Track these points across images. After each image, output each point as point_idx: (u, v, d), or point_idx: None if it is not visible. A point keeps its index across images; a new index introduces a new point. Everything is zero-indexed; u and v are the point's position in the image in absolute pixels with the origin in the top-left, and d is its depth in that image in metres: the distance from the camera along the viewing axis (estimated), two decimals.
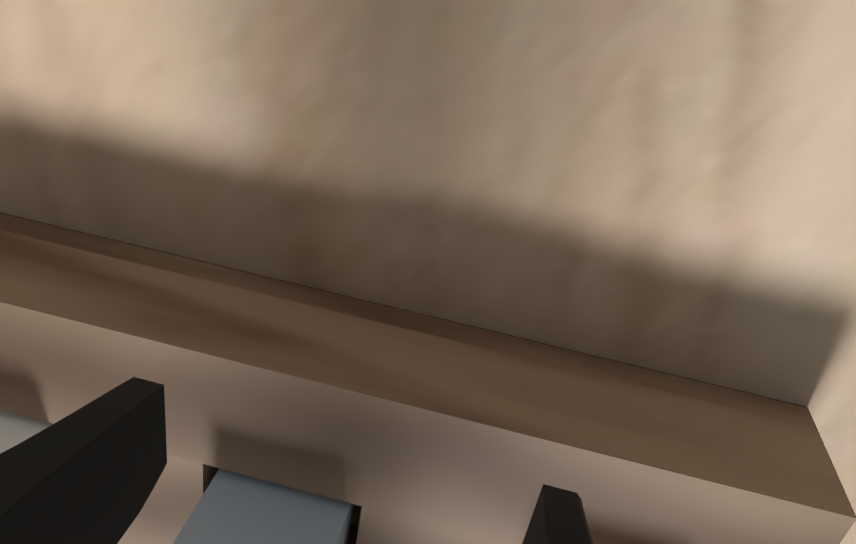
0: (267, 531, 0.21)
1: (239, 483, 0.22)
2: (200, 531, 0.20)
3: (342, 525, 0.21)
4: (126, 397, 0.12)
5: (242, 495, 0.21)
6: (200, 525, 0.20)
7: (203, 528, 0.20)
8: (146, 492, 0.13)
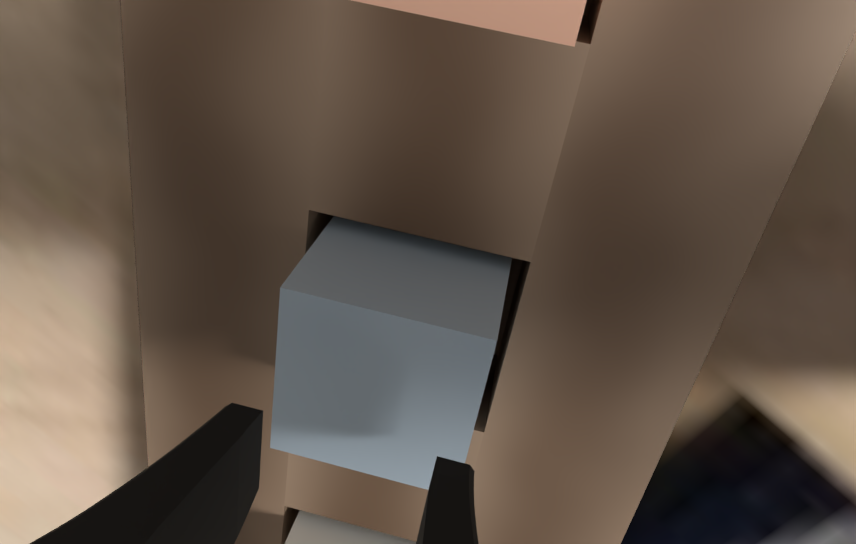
0: None
1: None
2: None
3: (318, 239, 0.16)
4: (231, 425, 0.12)
5: None
6: None
7: None
8: (243, 518, 0.13)
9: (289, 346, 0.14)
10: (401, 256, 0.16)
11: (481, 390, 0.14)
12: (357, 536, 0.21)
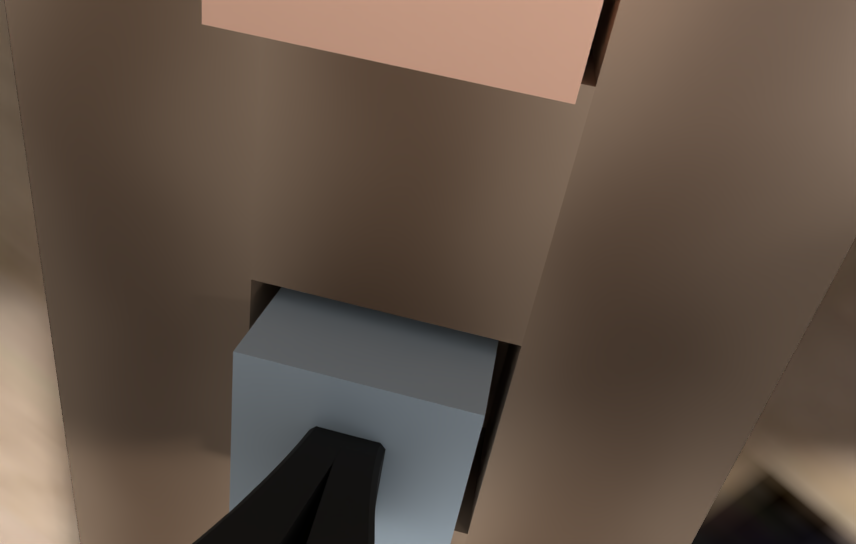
0: None
1: None
2: None
3: (283, 288, 0.14)
4: (322, 449, 0.12)
5: None
6: None
7: None
8: None
9: (246, 416, 0.13)
10: None
11: (467, 469, 0.12)
12: None
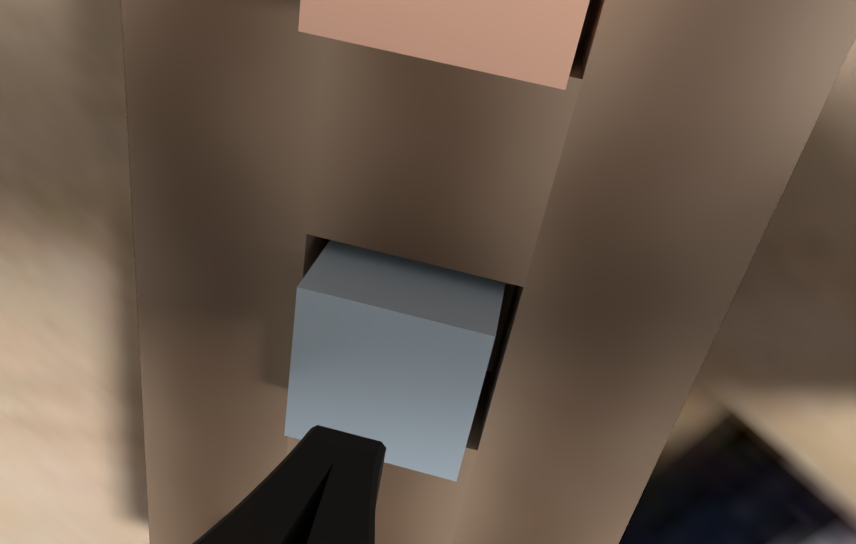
0: None
1: None
2: None
3: (330, 243, 0.17)
4: (322, 449, 0.12)
5: None
6: None
7: None
8: None
9: (304, 341, 0.16)
10: None
11: (480, 382, 0.15)
12: None
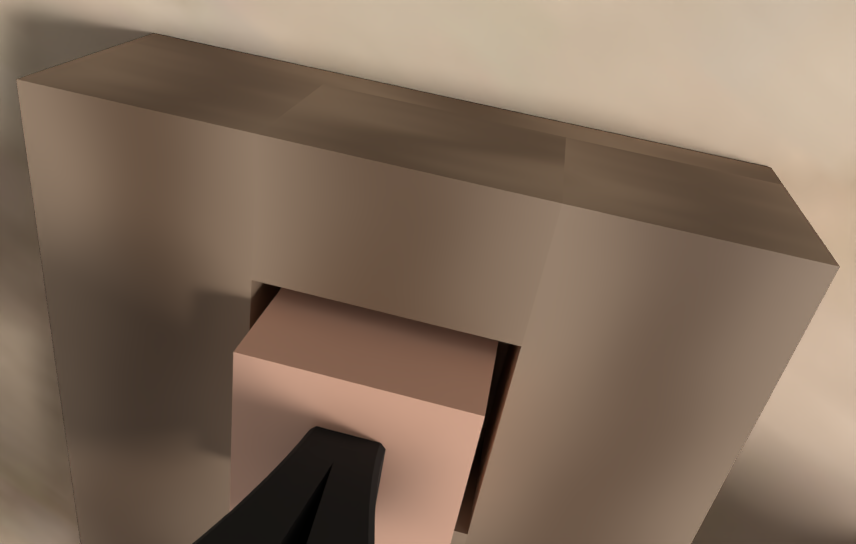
0: None
1: None
2: None
3: None
4: (322, 449, 0.12)
5: None
6: None
7: None
8: None
9: None
10: None
11: None
12: None
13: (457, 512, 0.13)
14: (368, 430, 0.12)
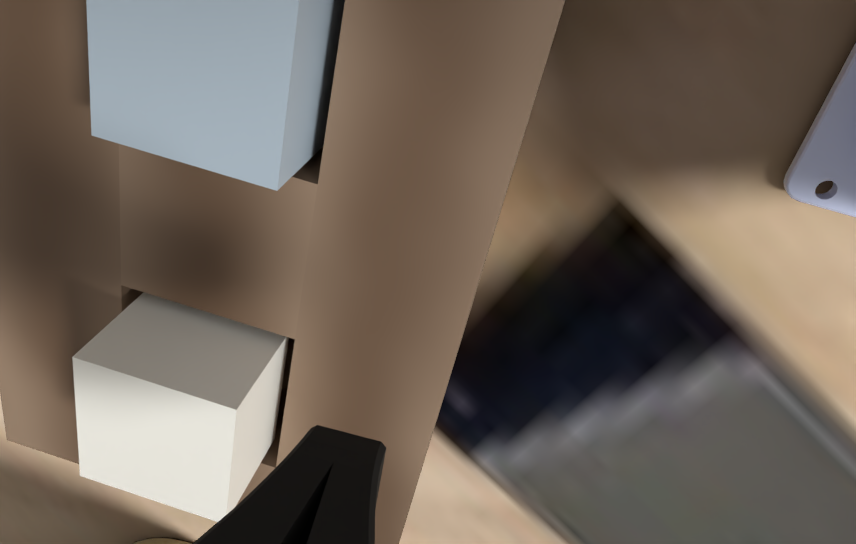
0: None
1: None
2: None
3: None
4: (322, 449, 0.12)
5: None
6: None
7: None
8: None
9: None
10: None
11: (290, 47, 0.14)
12: (197, 322, 0.20)
13: None
14: None
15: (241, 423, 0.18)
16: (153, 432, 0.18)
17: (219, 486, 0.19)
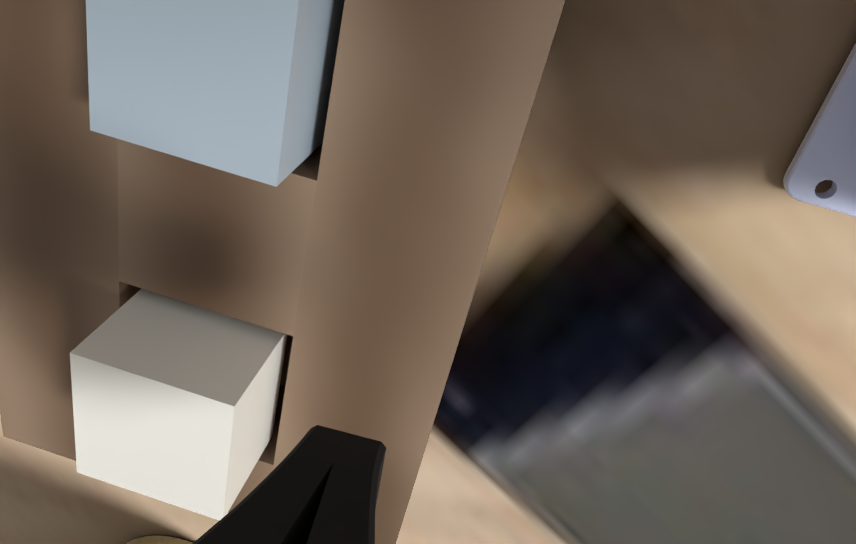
0: None
1: None
2: None
3: None
4: (322, 449, 0.12)
5: None
6: None
7: None
8: None
9: None
10: None
11: (290, 42, 0.13)
12: (195, 318, 0.20)
13: None
14: None
15: (238, 420, 0.18)
16: (150, 429, 0.18)
17: (216, 483, 0.19)
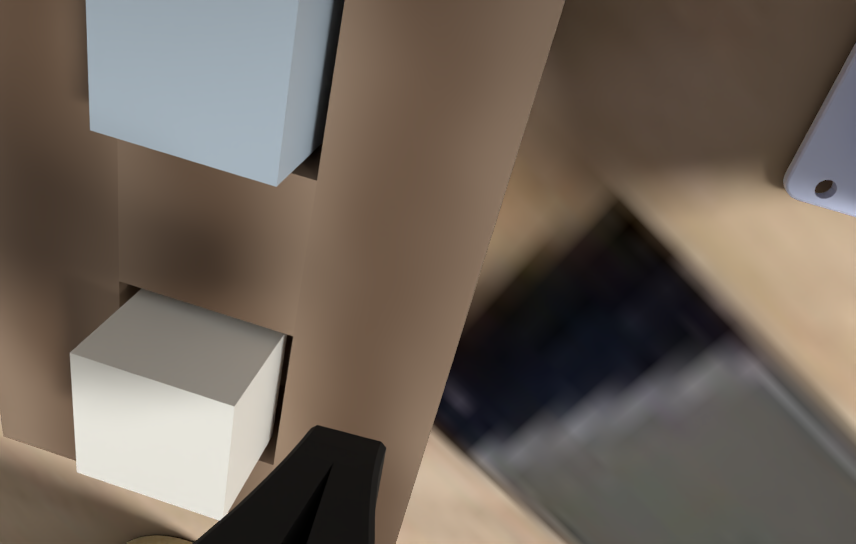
0: None
1: None
2: None
3: None
4: (322, 449, 0.12)
5: None
6: None
7: None
8: None
9: None
10: None
11: (290, 42, 0.13)
12: (195, 318, 0.20)
13: None
14: None
15: (238, 420, 0.18)
16: (150, 429, 0.18)
17: (216, 483, 0.19)
